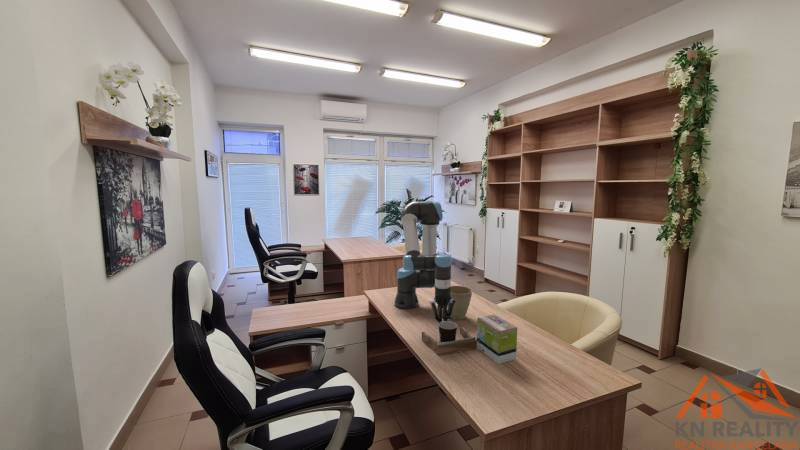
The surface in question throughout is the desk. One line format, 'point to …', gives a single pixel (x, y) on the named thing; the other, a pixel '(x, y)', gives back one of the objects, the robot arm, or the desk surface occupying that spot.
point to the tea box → (497, 338)
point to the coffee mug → (447, 331)
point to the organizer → (451, 343)
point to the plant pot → (460, 301)
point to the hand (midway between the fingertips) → (442, 333)
